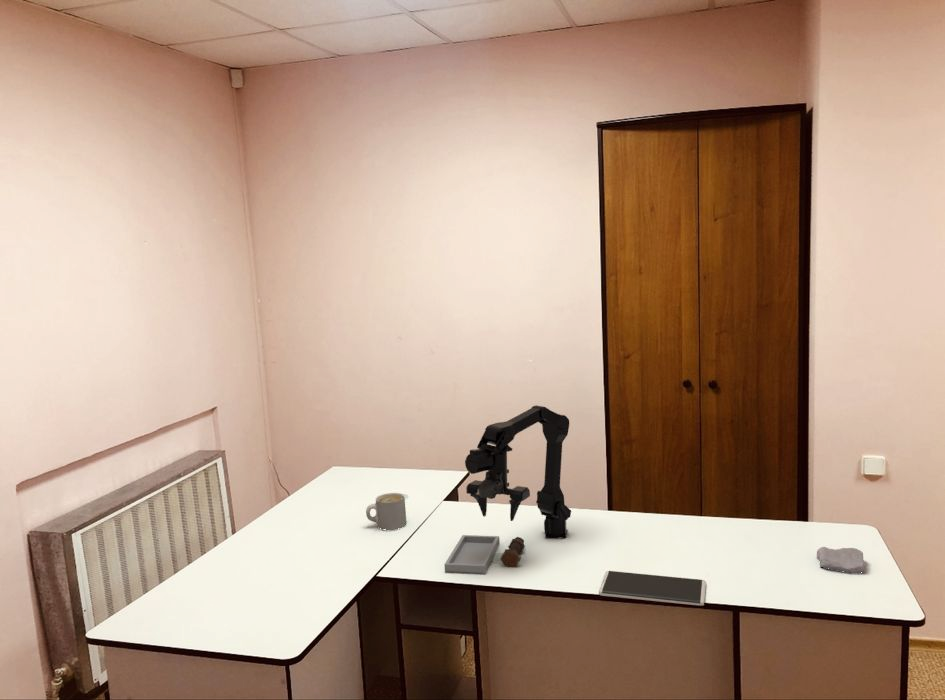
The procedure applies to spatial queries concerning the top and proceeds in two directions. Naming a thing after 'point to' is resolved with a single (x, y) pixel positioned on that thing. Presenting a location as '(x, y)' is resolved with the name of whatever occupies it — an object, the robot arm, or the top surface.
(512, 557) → the bolt
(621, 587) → the smartphone
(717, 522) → the top surface
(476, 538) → the parts tray
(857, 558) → the stone block
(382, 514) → the coffee mug
